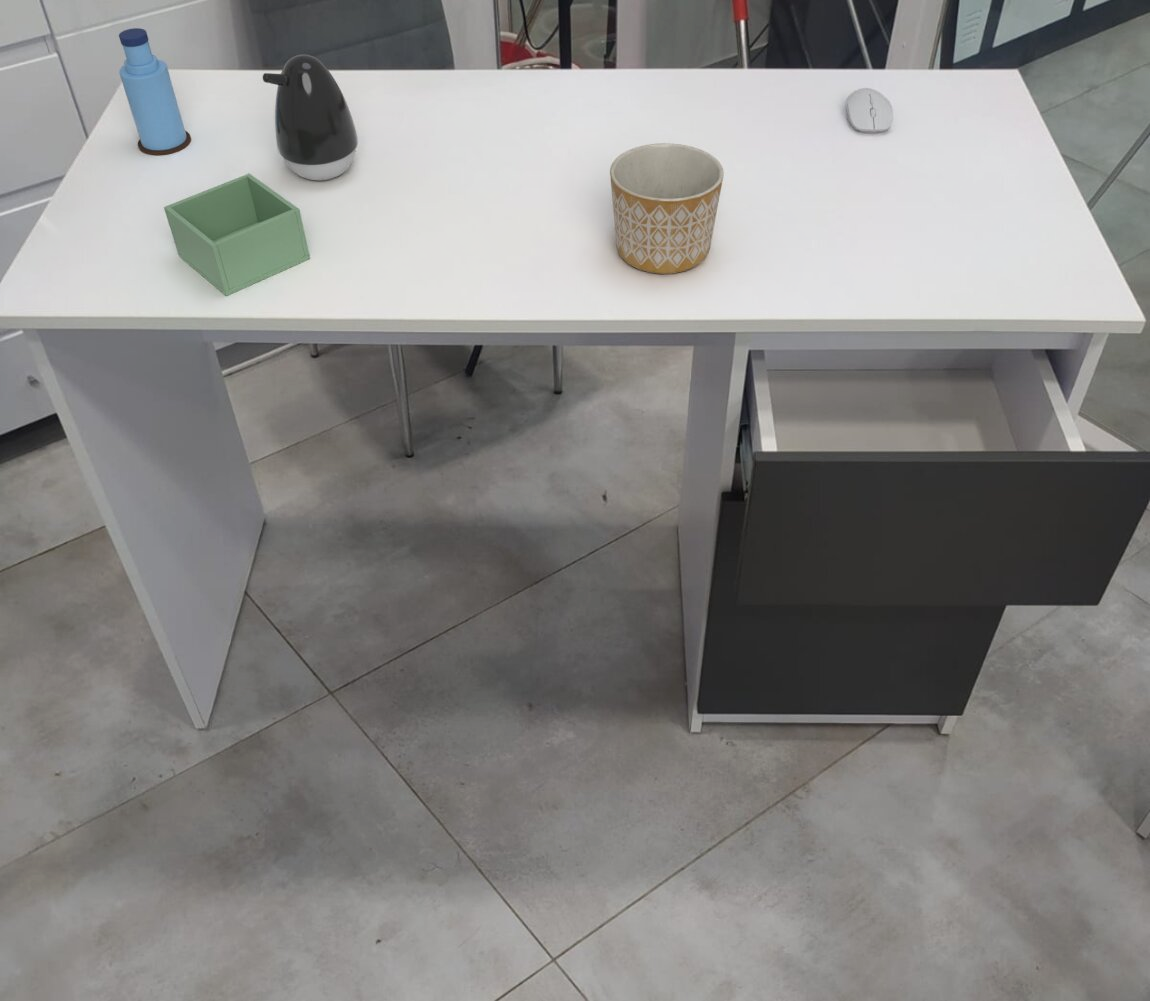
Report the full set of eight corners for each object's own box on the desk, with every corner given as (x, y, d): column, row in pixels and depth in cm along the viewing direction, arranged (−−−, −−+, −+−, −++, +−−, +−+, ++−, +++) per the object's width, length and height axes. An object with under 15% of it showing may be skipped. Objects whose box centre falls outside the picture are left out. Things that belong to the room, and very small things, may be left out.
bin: (226, 296, 126) (211, 246, 122) (178, 256, 132) (163, 206, 127) (310, 258, 131) (299, 208, 127) (261, 221, 137) (249, 173, 133)
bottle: (154, 155, 149) (121, 47, 138) (133, 139, 152) (99, 33, 142) (194, 140, 151) (165, 33, 141) (173, 125, 155) (143, 20, 144)
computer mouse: (850, 136, 150) (854, 114, 148) (840, 102, 157) (843, 81, 155) (895, 135, 150) (899, 114, 148) (882, 102, 157) (886, 81, 155)
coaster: (153, 160, 148) (152, 157, 148) (129, 142, 152) (128, 139, 152) (200, 143, 152) (199, 140, 151) (175, 125, 155) (175, 122, 155)
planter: (618, 218, 137) (619, 138, 129) (721, 227, 135) (728, 147, 127) (600, 276, 128) (600, 194, 120) (710, 286, 126) (717, 204, 119)
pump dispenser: (269, 167, 147) (243, 53, 136) (339, 144, 151) (319, 32, 140) (303, 199, 141) (279, 83, 130) (376, 174, 145) (358, 59, 134)
